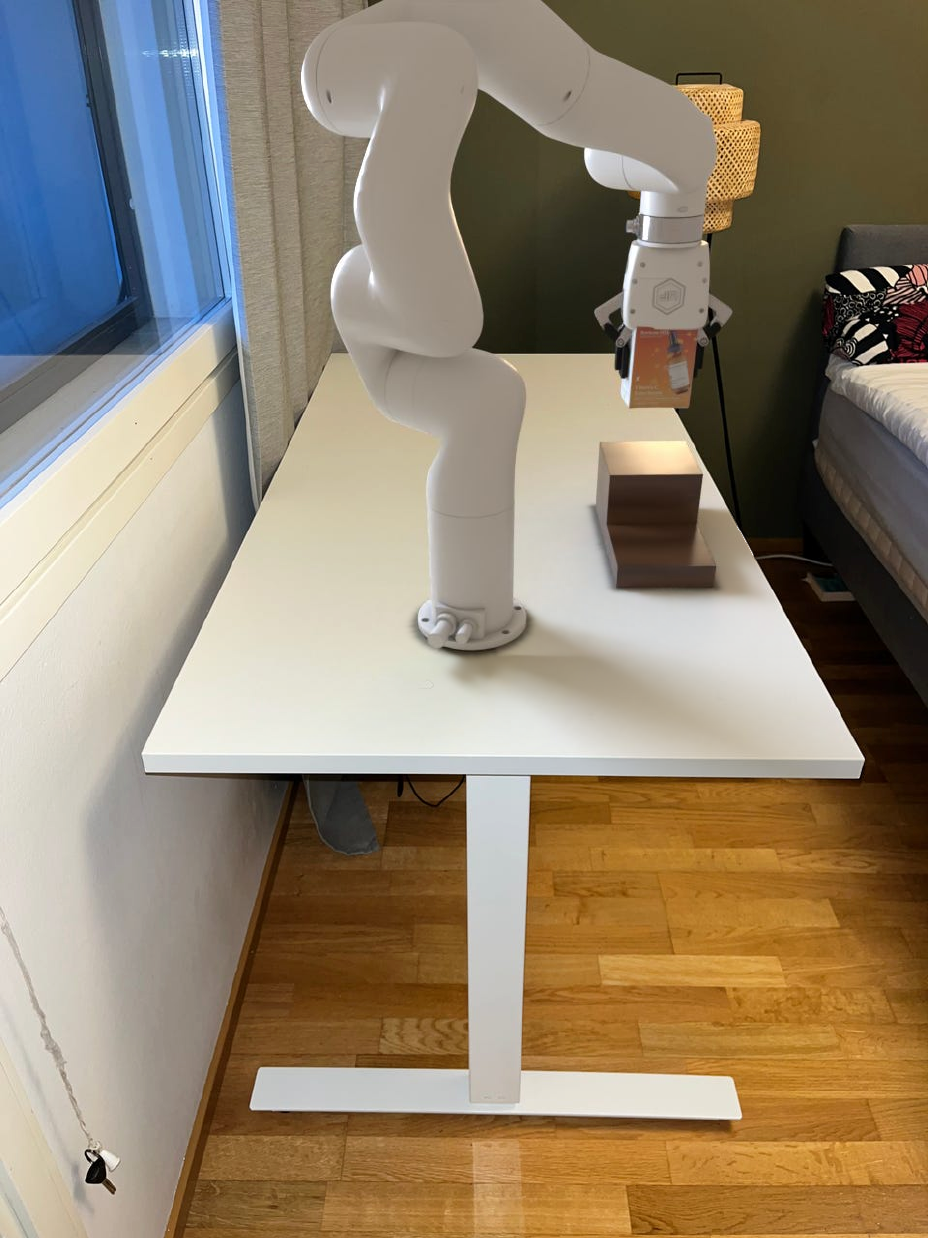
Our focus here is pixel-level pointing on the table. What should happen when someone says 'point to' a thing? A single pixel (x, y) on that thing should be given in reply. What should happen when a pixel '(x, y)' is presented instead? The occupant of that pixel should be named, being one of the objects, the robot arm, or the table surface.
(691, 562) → the step shelf
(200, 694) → the table surface
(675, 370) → the small box
